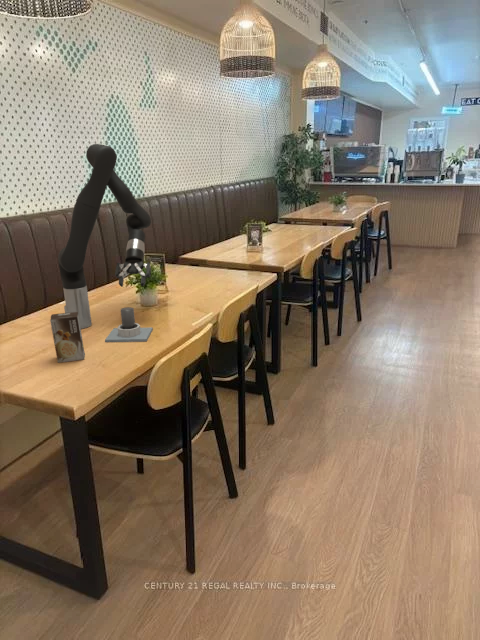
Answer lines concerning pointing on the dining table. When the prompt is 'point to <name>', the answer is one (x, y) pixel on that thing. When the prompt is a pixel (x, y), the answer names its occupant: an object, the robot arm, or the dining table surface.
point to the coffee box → (67, 337)
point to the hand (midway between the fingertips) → (131, 285)
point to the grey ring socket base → (129, 334)
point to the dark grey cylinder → (127, 318)
